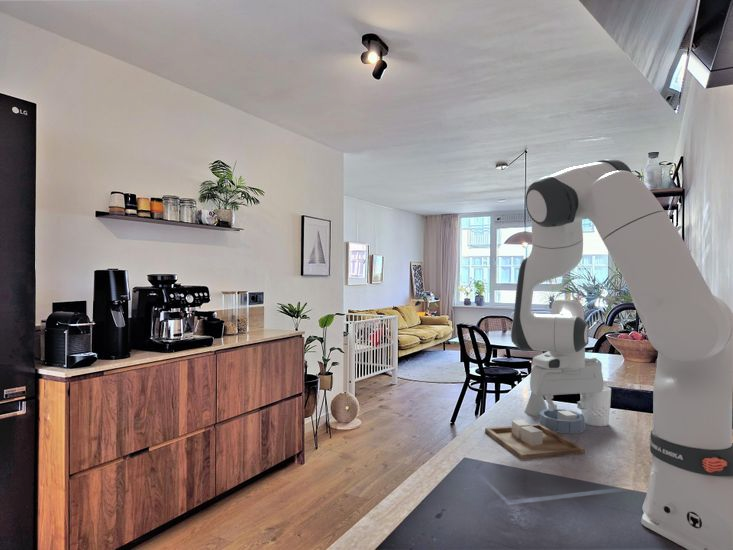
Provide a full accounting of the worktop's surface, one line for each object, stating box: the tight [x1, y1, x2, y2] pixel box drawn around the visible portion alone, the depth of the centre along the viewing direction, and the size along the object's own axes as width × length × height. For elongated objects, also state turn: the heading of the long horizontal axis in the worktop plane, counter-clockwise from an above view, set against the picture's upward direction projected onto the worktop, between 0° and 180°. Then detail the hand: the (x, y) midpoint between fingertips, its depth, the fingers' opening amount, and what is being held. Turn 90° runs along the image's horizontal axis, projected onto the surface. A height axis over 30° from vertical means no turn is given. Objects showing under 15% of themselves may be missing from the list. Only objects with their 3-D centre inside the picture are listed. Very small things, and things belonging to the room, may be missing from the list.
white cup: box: [579, 385, 612, 427], centre depth 130 cm, size 8×8×10 cm
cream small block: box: [511, 419, 532, 438], centre depth 118 cm, size 4×3×3 cm
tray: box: [484, 423, 586, 461], centre depth 114 cm, size 18×16×2 cm
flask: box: [524, 390, 548, 417], centre depth 137 cm, size 7×7×10 cm
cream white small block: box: [521, 426, 543, 446], centre depth 113 cm, size 4×3×3 cm
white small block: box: [557, 409, 577, 420], centre depth 126 cm, size 4×3×3 cm
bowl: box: [539, 408, 585, 434], centre depth 125 cm, size 11×11×4 cm
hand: (567, 409), depth 126 cm, fingers open, 7 cm apart
